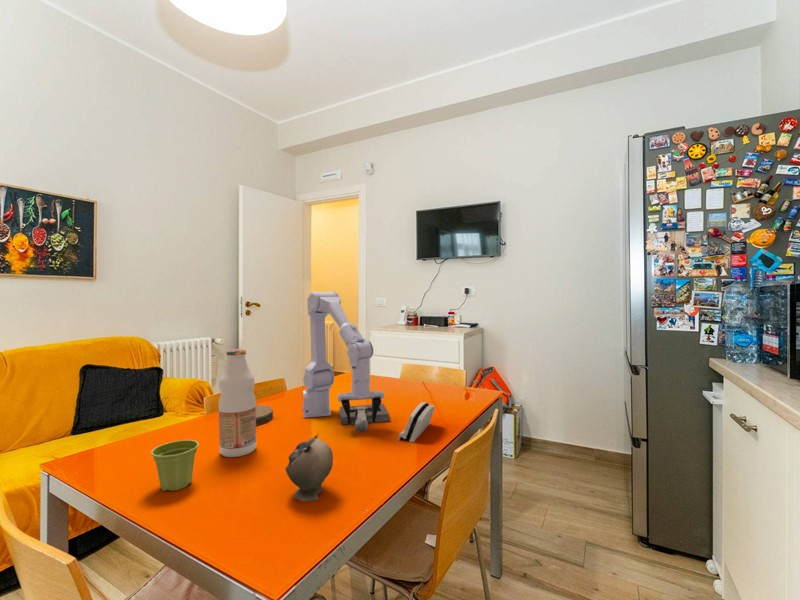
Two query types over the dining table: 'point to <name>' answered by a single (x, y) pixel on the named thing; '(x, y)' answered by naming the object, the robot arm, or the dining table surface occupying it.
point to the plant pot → (175, 463)
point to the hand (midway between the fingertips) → (361, 422)
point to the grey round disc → (263, 414)
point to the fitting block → (380, 416)
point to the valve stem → (361, 419)
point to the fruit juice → (237, 407)
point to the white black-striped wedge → (417, 421)
